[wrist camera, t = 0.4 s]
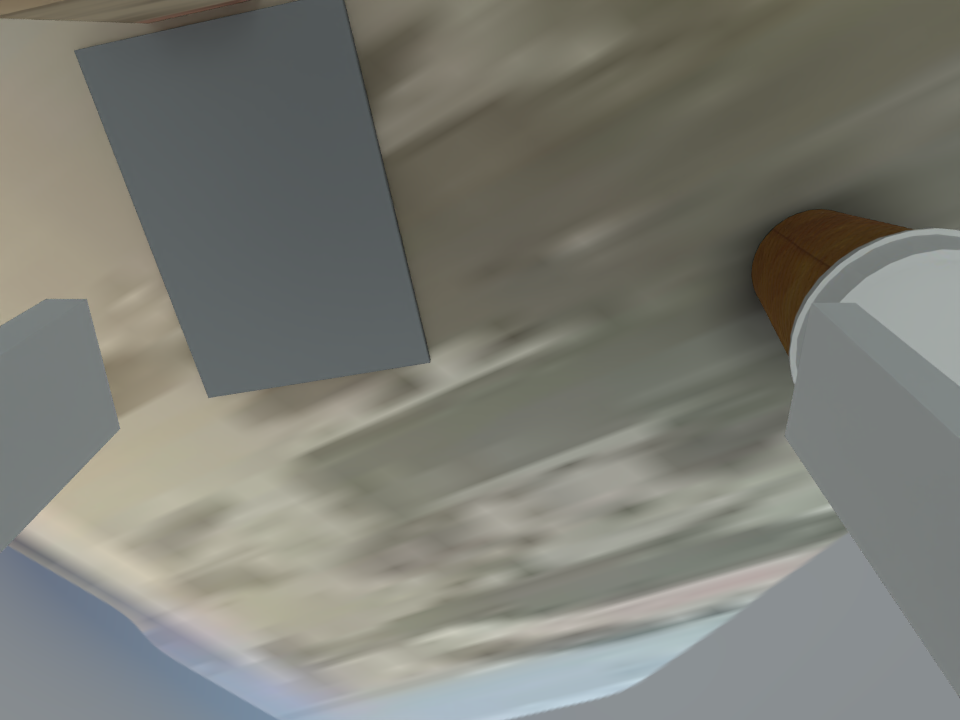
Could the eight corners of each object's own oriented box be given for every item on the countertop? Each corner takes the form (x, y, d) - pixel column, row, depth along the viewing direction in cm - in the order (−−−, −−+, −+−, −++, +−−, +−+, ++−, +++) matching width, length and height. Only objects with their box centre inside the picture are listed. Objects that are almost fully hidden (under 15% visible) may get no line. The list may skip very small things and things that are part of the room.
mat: (78, 50, 36) (74, 50, 36) (342, -9, 35) (340, -9, 34) (211, 394, 44) (208, 397, 44) (430, 359, 43) (429, 362, 42)
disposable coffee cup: (913, 309, 40) (1062, 410, 29) (746, 366, 42) (828, 482, 31) (881, 149, 37) (1037, 196, 26) (700, 219, 39) (775, 292, 28)
